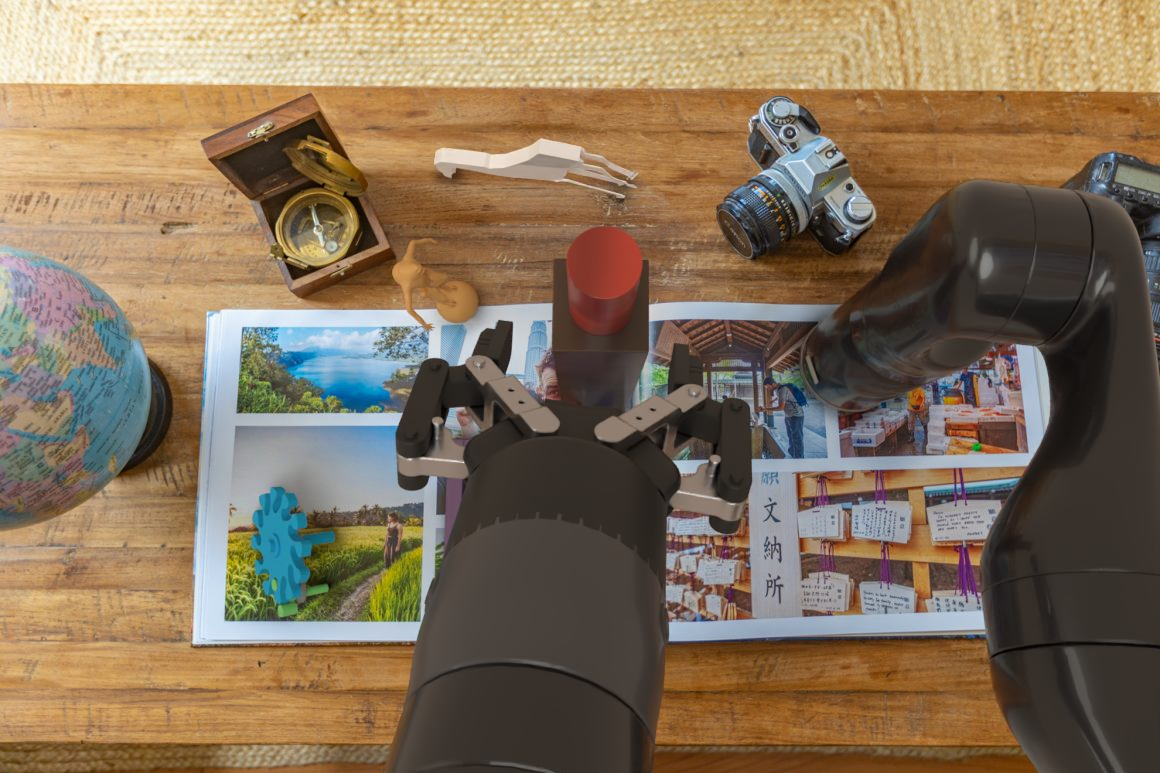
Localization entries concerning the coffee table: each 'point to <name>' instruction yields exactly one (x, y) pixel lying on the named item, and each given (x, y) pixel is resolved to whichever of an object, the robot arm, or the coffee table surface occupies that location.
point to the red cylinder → (603, 279)
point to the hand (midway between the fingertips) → (592, 347)
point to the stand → (598, 350)
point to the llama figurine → (532, 163)
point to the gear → (285, 550)
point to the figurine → (434, 289)
